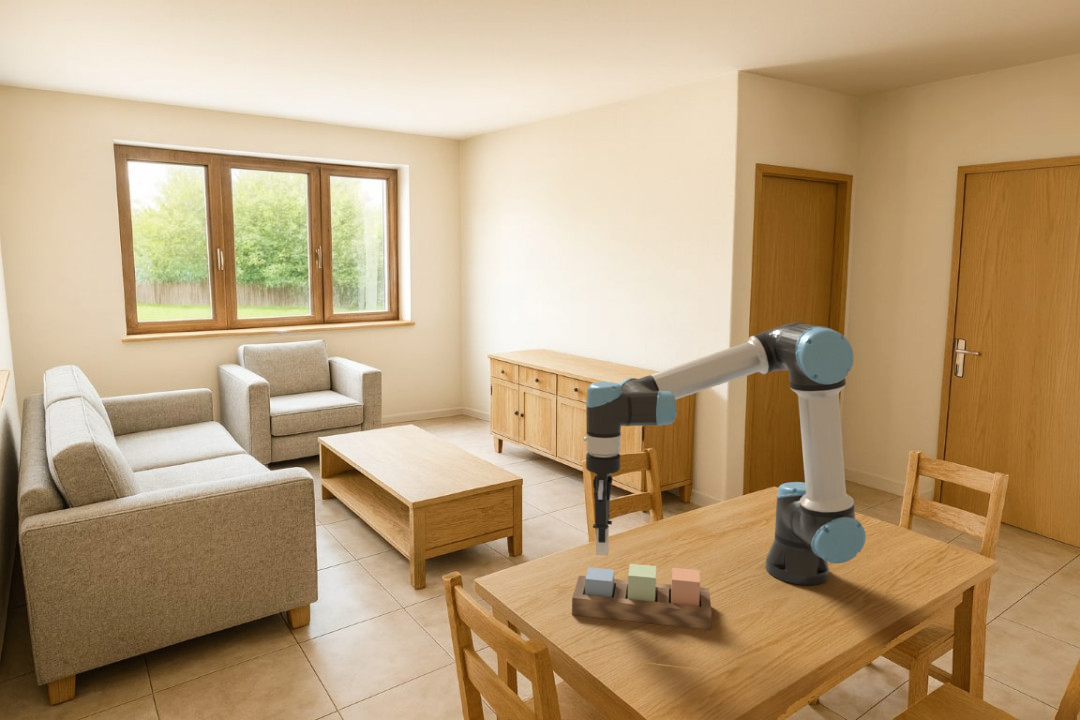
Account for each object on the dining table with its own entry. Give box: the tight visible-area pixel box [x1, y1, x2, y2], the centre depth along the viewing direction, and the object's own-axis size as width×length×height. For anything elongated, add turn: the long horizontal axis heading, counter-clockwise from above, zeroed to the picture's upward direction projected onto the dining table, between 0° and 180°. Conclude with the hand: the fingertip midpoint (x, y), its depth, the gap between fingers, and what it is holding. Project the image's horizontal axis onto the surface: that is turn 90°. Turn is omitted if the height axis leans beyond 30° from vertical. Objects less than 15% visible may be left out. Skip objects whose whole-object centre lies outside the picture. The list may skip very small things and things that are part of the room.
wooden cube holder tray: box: [571, 575, 712, 631], centre depth 157 cm, size 30×11×4 cm, turn 79°
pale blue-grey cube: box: [585, 566, 615, 598], centre depth 159 cm, size 6×6×7 cm
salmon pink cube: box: [670, 567, 701, 606], centre depth 155 cm, size 6×6×7 cm
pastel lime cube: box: [627, 563, 657, 602], centre depth 157 cm, size 6×6×7 cm
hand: (602, 553), depth 157 cm, fingers closed
